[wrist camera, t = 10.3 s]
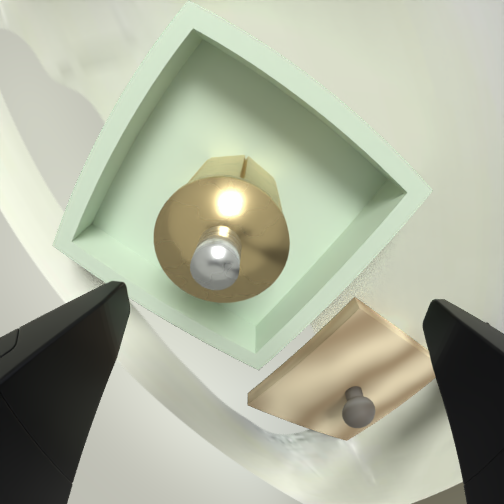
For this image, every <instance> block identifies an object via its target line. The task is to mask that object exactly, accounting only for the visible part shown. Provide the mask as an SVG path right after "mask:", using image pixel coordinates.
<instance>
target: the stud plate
mask: <svg viewBox="0 0 504 504" xmlns="http://www.w3.org/2000/svg"><path fill="white" fill-rule="evenodd" d="M434 378H436V377H435V374H434V371H433V367H432V363H431V359H430V355H429V351H428V350H427V349H426V348H424V347H423V346H422V345H420V344H419V343H417V342H416V341H415V340H413V339H412V338H411V337H409V336H408V335H407V334H405V333H404V332H402V331H401V330H400V329H398V328H397V327H396V326H394V325H393V324H392V323H390V322H389V321H387V320H386V319H385V318H383V317H382V316H380V315H379V314H378V313H376V312H375V311H374V310H372V309H371V308H369V307H368V306H367V305H365V304H364V303H362V302H361V301H360V300H358V299H357V298H355V297H354V298H353V299H352V300H351V301H350V302H349V303H348V304H347V305H346V306H345V307H344V308H343V309H342V310H341V311H340V312H339V313H338V314H337V315H336V316H335V317H334V318H333V319H332V320H331V321H330V322H329V323H328V324H326V325H325V326H324V327H323V328H322V329H321V330H320V331H319V332H318V333H317V334H316V335H315V336H314V337H313V338H312V339H310V340H309V341H308V342H307V343H306V344H305V345H304V346H303V347H302V348H300V349H299V350H298V351H297V352H296V353H295V354H294V355H293V356H291V357H290V358H289V359H288V360H287V361H286V362H285V363H283V364H282V365H281V366H280V367H279V368H278V369H276V370H275V371H274V372H273V373H272V374H271V375H269V376H268V377H267V378H266V379H265V380H263V381H262V382H261V383H260V384H259V385H257V386H256V387H255V388H254V389H252V390H251V391H250V392H249V393H248V406H251V407H253V408H256V409H258V410H261V411H263V412H266V413H268V414H271V415H273V416H276V417H278V418H281V419H284V420H287V421H289V422H292V423H295V424H297V425H300V426H303V427H306V428H309V429H312V430H315V431H318V432H321V433H324V434H327V435H330V436H333V437H336V438H339V439H343V440H346V441H347V440H349V439H350V438H352V437H354V436H355V435H357V434H358V433H360V432H362V431H363V430H365V429H366V428H368V427H369V426H371V425H372V424H374V423H375V422H377V421H378V420H380V419H381V418H383V417H384V416H386V415H387V414H389V413H390V412H391V411H393V410H394V409H396V408H397V407H398V406H400V405H401V404H402V403H404V402H405V401H407V400H408V399H409V398H410V397H412V396H413V395H414V394H416V393H417V392H418V391H420V390H421V389H422V388H423V387H425V386H426V385H427V384H428V383H430V382H431V381H432V380H433V379H434Z"/></svg>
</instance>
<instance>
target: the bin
mask: <svg viewBox="0 0 504 504" xmlns="http://www.w3.org/2000/svg"><path fill="white" fill-rule="evenodd" d="M236 155H245V159H246V158H247V157H248V156H249V157H250V158H251V159H253V160H254V161H255V162H256V163H257V164H258V165H260V166H261V167H262V168H263V169H264V170H265V171H267V172H268V173H269V174H270V175H271V176H272V177H274V180H275V181H276V185H277V189H278V194H279V198H280V202H281V207H282V211H283V214H284V217H285V219H286V223H287V227H288V231H289V238H290V249H289V255H288V259H287V262H286V265H285V267H284V269H283V271H282V273H281V274H280V276H279V277H278V278H277V280H276V281H275V282H274V283H273V284H272V285H271V286H270V287H269V288H267V289H266V290H265V291H263V292H262V293H260V294H258V295H256V296H254V297H252V298H249V299H246V300H243V301H239V302H232V303H217V302H210V301H206V300H202V299H199V298H197V297H194V296H192V295H190V294H188V293H187V292H185V291H183V290H182V289H180V288H179V287H178V286H177V285H175V284H174V283H173V282H172V281H171V280H170V279H169V277H168V276H167V275H166V273H165V272H164V271H163V269H162V267H161V266H160V264H159V261H158V259H157V256H156V253H155V248H154V227H155V223H156V219H157V217H158V214H159V212H160V210H161V209H162V207H163V205H164V204H165V203H166V201H167V200H168V199H169V198H170V197H171V196H172V195H173V193H174V192H175V191H177V190H178V189H179V188H180V187H182V186H183V185H185V184H186V183H188V181H189V180H190V179H191V178H192V177H193V176H194V174H195V173H196V172H197V171H198V170H199V169H200V167H201V166H202V165H203V164H204V163H205V162H206V161H207V159H208V160H209V159H210V158H211V157H223V156H236ZM432 191H433V190H432V189H431V188H430V187H429V186H428V184H427V183H426V182H425V181H424V180H423V179H422V178H421V177H420V176H419V175H418V173H417V172H416V171H415V170H414V169H413V168H412V167H411V166H410V165H409V164H408V163H407V162H406V161H405V160H404V159H403V158H402V157H401V156H400V155H399V154H398V153H397V152H396V151H395V150H394V149H393V148H392V147H391V146H390V145H389V144H388V143H387V142H386V141H385V140H384V139H383V138H382V137H381V136H380V135H379V134H378V133H377V132H376V131H375V130H374V129H373V128H371V127H370V126H369V125H368V124H367V123H366V122H365V121H364V120H363V119H362V118H360V117H359V116H358V115H357V114H356V113H355V112H354V111H352V110H351V109H350V108H349V107H348V106H347V105H345V104H344V103H343V102H342V101H341V100H340V99H338V98H337V97H336V96H335V95H333V94H332V93H331V92H330V91H329V90H327V89H326V88H325V87H324V86H322V85H321V84H320V83H318V82H317V81H316V80H315V79H313V78H312V77H311V76H309V75H308V74H307V73H305V72H304V71H303V70H301V69H300V68H299V67H297V66H296V65H294V64H293V63H292V62H290V61H289V60H287V59H286V58H285V57H283V56H282V55H280V54H279V53H277V52H276V51H274V50H273V49H272V48H270V47H269V46H267V45H265V44H264V43H262V42H261V41H259V40H258V39H256V38H255V37H253V36H251V35H250V34H248V33H247V32H245V31H243V30H242V29H240V28H238V27H237V26H235V25H233V24H232V23H230V22H228V21H227V20H225V19H223V18H221V17H219V16H218V15H216V14H214V13H212V12H210V11H209V10H207V9H205V8H203V7H201V6H199V5H197V4H195V3H193V2H191V1H189V0H188V1H187V2H186V4H185V5H184V6H183V7H182V8H181V10H180V11H179V12H178V13H177V15H176V16H175V17H174V19H173V20H172V21H171V22H170V24H169V25H168V26H167V28H166V29H165V30H164V32H163V33H162V34H161V36H160V37H159V38H158V40H157V41H156V43H155V44H154V45H153V47H152V48H151V50H150V51H149V52H148V54H147V55H146V57H145V58H144V60H143V61H142V63H141V64H140V66H139V67H138V69H137V70H136V72H135V74H134V75H133V77H132V78H131V80H130V81H129V83H128V85H127V86H126V88H125V90H124V91H123V93H122V95H121V96H120V98H119V100H118V101H117V103H116V105H115V107H114V108H113V110H112V112H111V114H110V116H109V117H108V119H107V121H106V123H105V125H104V127H103V128H102V130H101V132H100V134H99V136H98V138H97V140H96V142H95V144H94V146H93V148H92V150H91V152H90V154H89V156H88V159H87V161H86V163H85V165H84V167H83V170H82V171H81V174H80V176H79V178H78V181H77V183H76V185H75V187H74V190H73V192H72V195H71V197H70V200H69V202H68V205H67V207H66V210H65V212H64V215H63V217H62V220H61V223H60V226H59V228H58V231H57V234H56V237H55V240H54V243H53V246H54V247H55V248H56V249H58V250H59V251H60V252H62V253H63V254H65V255H66V256H67V257H69V258H70V259H72V260H73V261H74V262H76V263H77V264H79V265H80V266H81V267H83V268H84V269H86V270H87V271H89V272H90V273H92V274H93V275H95V276H96V277H98V278H99V279H101V280H102V281H104V282H105V283H108V282H110V281H120V282H124V283H125V284H126V286H127V292H128V298H130V299H131V300H133V301H135V302H136V303H138V304H140V305H141V306H143V307H144V308H146V309H148V310H149V311H151V312H153V313H154V314H156V315H158V316H159V317H161V318H163V319H164V320H166V321H168V322H169V323H171V324H173V325H175V326H176V327H178V328H180V329H182V330H184V331H185V332H187V333H189V334H190V335H192V336H194V337H196V338H198V339H200V340H201V341H203V342H205V343H207V344H209V345H211V346H212V347H214V348H216V349H218V350H220V351H222V352H224V353H226V354H228V355H229V356H231V357H233V358H235V359H237V360H239V361H241V362H243V363H245V364H247V365H249V366H251V367H253V368H255V369H257V370H260V369H261V368H262V367H263V366H264V365H265V364H267V363H268V362H269V361H270V360H271V359H272V358H273V357H275V356H276V355H277V354H278V353H279V352H280V351H281V350H282V349H283V348H284V347H285V346H287V344H289V343H290V342H291V341H292V340H293V339H294V338H295V337H296V336H297V335H298V334H299V333H301V332H302V331H303V330H304V329H305V328H306V327H307V326H308V325H309V324H310V323H311V322H312V321H313V320H314V319H315V318H316V317H317V316H318V315H319V314H320V313H321V312H322V311H323V310H324V309H325V308H327V307H328V306H329V305H330V304H331V303H332V302H333V301H334V300H335V299H336V298H337V297H338V296H339V295H340V293H341V292H342V291H343V290H344V289H345V288H346V287H347V286H348V285H349V284H350V283H351V282H352V281H353V280H354V279H355V278H356V277H357V276H358V275H359V274H360V273H361V272H362V271H363V270H364V269H365V268H366V266H367V265H368V264H369V263H370V262H371V261H372V260H373V259H374V258H375V257H376V256H377V255H378V254H379V252H380V251H381V250H382V249H383V248H384V247H385V246H386V245H387V244H388V242H389V241H390V240H391V239H392V238H393V237H394V236H395V235H396V233H397V232H398V231H399V230H400V229H401V228H402V227H403V225H404V224H405V223H406V222H407V221H408V220H409V219H410V217H411V216H412V215H413V214H414V213H415V211H416V210H417V209H418V208H419V207H420V206H421V204H422V203H423V202H424V201H425V200H426V198H427V197H428V196H429V195H430V193H431V192H432Z"/></svg>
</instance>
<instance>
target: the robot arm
mask: <svg viewBox="0 0 504 504" xmlns="http://www.w3.org/2000/svg"><path fill="white" fill-rule="evenodd" d="M129 314H130V304H129V298H128V292H127V286H126V284H125V283H124V282H120V281H110V282H108V283H106V284H104V285H102V286H100V287H98V288H96V289H94V290H92V291H90V292H88V293H86V294H84V295H82V296H80V297H78V298H76V299H74V300H72V301H70V302H68V303H66V304H64V305H62V306H60V307H58V308H56V309H54V310H52V311H50V312H48V313H46V314H44V315H43V316H41V317H39V318H37V319H35V320H33V321H31V322H29V323H27V324H25V325H23V326H21V327H20V328H19V329H15V330H14V331H12V332H10V333H8V334H6V335H4V336H2V337H0V504H67V502H68V498H69V495H70V491H71V488H72V482H73V480H74V477H75V474H76V470H77V467H78V464H79V461H80V458H81V454H82V451H83V448H84V445H85V442H86V439H87V436H88V433H89V430H90V428H91V425H92V422H93V419H94V416H95V414H96V411H97V408H98V405H99V403H100V400H101V397H102V394H103V392H104V389H105V387H106V384H107V381H108V379H109V376H110V374H111V371H112V369H113V366H114V363H115V361H116V358H117V355H118V352H119V349H120V345H121V342H122V338H123V334H124V331H125V328H126V324H127V321H128V317H129ZM423 331H424V335H425V339H426V343H427V347H428V351H429V355H430V359H431V363H432V367H433V371H434V374H435V377H436V380H437V383H438V386H439V389H440V393H441V396H442V399H443V402H444V406H445V409H446V413H447V416H448V420H449V423H450V427H451V431H452V435H453V438H454V442H455V447H456V451H457V455H458V459H459V464H460V469H461V473H462V478H463V483H464V490H465V495H466V502H467V504H504V334H503V333H502V332H500V331H498V330H497V329H495V328H493V327H492V326H490V325H489V323H485V322H483V321H481V320H480V319H478V318H476V317H475V316H473V315H471V314H469V313H468V312H466V311H464V310H462V309H461V308H459V307H457V306H455V305H454V304H452V303H450V302H448V301H446V300H444V299H434V300H432V302H431V303H430V305H429V308H428V311H427V313H426V316H425V318H424V321H423Z"/></svg>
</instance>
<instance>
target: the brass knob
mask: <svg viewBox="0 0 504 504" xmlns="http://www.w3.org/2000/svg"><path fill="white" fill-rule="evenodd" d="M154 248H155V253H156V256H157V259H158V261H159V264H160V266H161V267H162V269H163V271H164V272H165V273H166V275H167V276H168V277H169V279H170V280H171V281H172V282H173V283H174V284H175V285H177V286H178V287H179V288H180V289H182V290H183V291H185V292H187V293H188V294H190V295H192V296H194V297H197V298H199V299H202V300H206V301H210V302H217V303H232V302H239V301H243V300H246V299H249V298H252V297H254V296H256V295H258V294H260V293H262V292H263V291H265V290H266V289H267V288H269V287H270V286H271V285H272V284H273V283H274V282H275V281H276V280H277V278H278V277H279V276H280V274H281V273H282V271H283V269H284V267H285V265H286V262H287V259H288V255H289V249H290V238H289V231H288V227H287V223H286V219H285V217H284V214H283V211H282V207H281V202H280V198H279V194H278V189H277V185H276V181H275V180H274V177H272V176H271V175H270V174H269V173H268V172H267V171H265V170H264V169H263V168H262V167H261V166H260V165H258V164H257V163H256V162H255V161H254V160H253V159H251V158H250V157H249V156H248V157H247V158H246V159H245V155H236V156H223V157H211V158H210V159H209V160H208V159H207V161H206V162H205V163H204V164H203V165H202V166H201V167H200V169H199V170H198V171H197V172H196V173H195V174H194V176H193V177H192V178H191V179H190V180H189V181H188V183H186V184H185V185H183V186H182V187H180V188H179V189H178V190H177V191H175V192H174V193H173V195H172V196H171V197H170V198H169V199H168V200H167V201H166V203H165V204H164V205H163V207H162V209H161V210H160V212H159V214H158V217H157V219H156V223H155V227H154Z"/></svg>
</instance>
